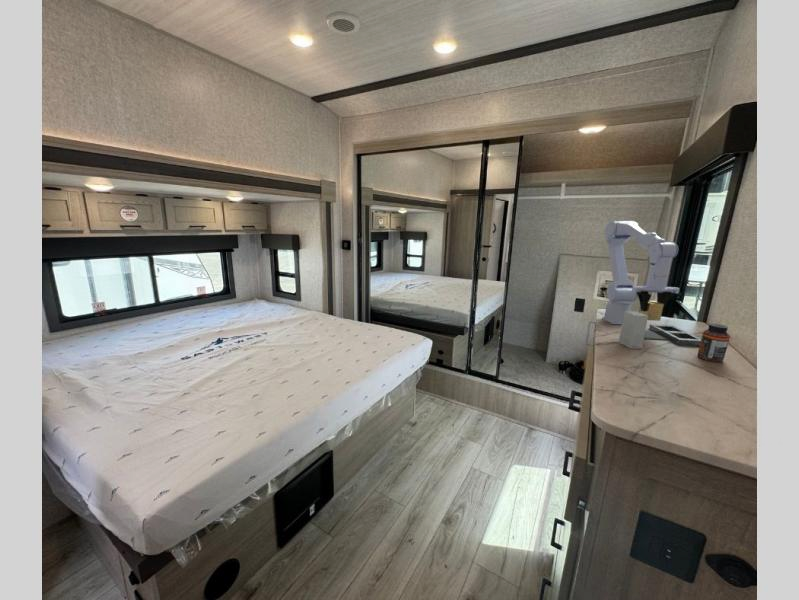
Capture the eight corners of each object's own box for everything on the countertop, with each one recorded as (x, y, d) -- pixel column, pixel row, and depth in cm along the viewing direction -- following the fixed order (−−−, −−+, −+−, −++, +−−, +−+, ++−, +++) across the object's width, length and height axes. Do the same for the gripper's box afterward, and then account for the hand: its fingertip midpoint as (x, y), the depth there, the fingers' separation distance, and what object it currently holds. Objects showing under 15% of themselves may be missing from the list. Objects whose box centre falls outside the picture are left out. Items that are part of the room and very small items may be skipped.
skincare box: (642, 348, 105) (649, 315, 102) (629, 348, 105) (636, 315, 102) (629, 342, 111) (635, 310, 108) (617, 342, 111) (623, 310, 108)
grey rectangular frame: (649, 329, 124) (650, 324, 124) (671, 330, 123) (672, 325, 122) (678, 345, 108) (679, 339, 107) (704, 346, 106) (705, 341, 106)
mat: (626, 330, 122) (626, 329, 122) (651, 331, 121) (651, 330, 121) (639, 338, 114) (639, 337, 114) (666, 340, 112) (666, 339, 112)
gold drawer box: (639, 316, 118) (642, 299, 116) (652, 317, 117) (656, 300, 116) (646, 320, 114) (650, 302, 112) (660, 320, 113) (663, 303, 111)
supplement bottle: (693, 353, 101) (701, 321, 98) (716, 356, 99) (725, 323, 96) (702, 361, 95) (711, 327, 93) (727, 364, 93) (737, 329, 90)
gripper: (642, 277, 109) (635, 313, 112) (688, 277, 107) (680, 314, 110) (631, 273, 116) (625, 308, 119) (674, 274, 113) (667, 309, 117)
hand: (650, 311), depth 115 cm, fingers closed on gold drawer box, 4 cm apart
